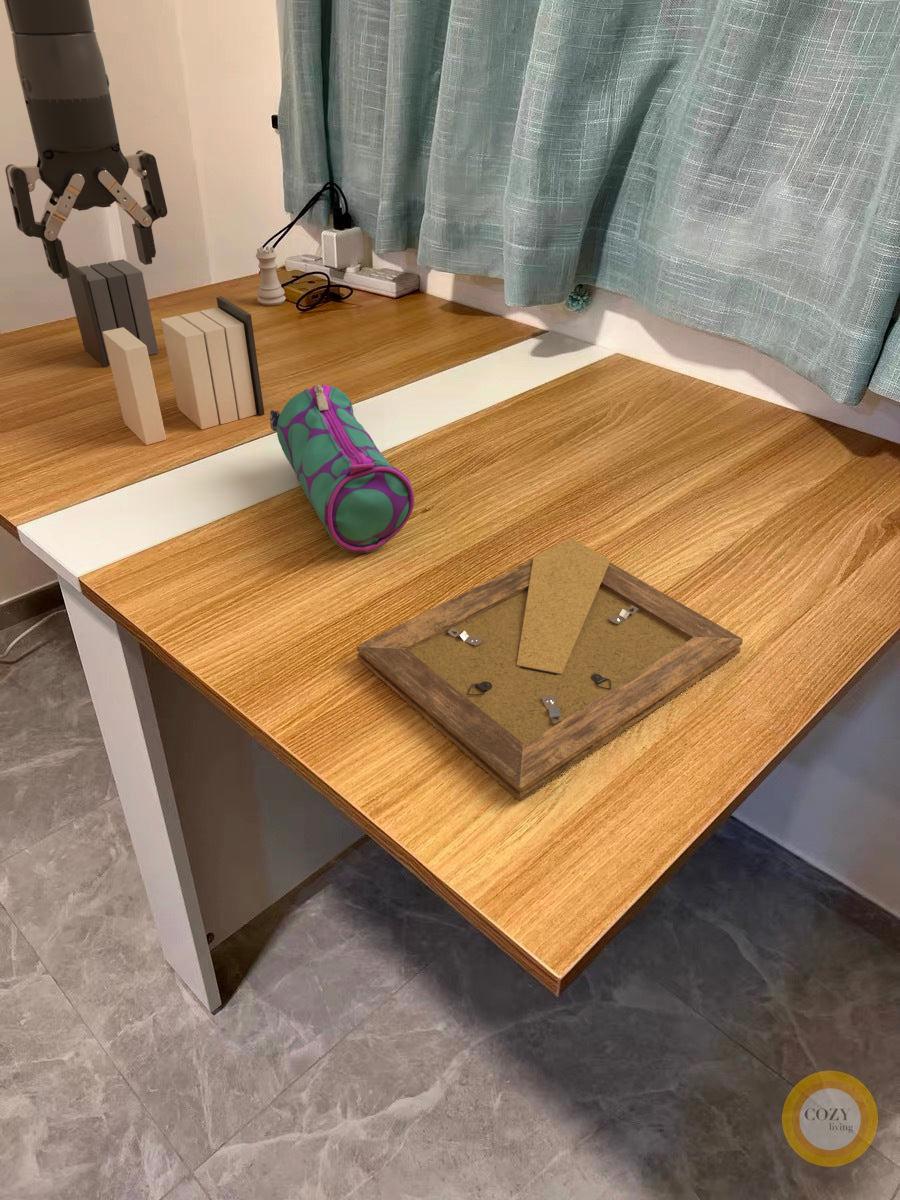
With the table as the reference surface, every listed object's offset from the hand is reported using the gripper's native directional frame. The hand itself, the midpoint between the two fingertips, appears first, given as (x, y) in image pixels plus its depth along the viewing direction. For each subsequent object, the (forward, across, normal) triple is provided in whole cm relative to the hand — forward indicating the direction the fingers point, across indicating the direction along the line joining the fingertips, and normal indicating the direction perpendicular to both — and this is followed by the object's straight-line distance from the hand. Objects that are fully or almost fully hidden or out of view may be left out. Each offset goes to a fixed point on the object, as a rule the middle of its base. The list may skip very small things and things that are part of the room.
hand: (105, 269), depth 91 cm
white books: (+18, -9, 0) cm, 20 cm away
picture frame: (+18, -12, +58) cm, 62 cm away
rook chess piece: (+18, -33, -33) cm, 50 cm away
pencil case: (+18, -10, +28) cm, 35 cm away
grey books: (+18, -7, -26) cm, 32 cm away
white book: (+18, 0, 0) cm, 18 cm away
